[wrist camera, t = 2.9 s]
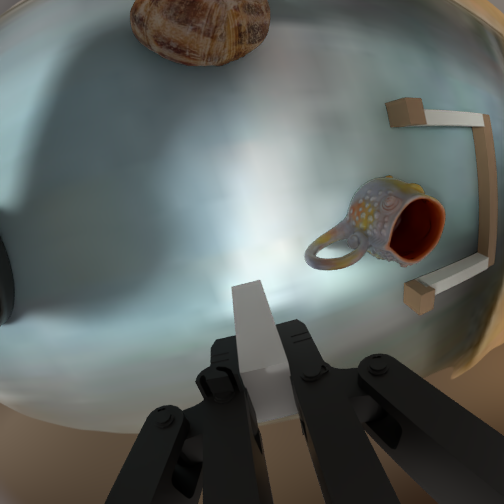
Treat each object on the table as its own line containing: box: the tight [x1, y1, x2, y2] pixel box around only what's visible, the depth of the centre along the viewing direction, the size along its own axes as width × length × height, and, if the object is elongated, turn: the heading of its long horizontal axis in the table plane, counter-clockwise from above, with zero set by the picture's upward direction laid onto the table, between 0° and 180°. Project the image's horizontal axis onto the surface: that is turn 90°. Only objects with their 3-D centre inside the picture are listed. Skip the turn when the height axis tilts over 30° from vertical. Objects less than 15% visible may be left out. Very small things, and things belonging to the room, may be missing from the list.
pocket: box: [385, 98, 498, 315], centre depth 23 cm, size 16×21×3 cm
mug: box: [304, 175, 445, 270], centre depth 21 cm, size 12×7×7 cm, turn 109°
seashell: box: [130, 0, 270, 66], centre depth 15 cm, size 10×9×10 cm
